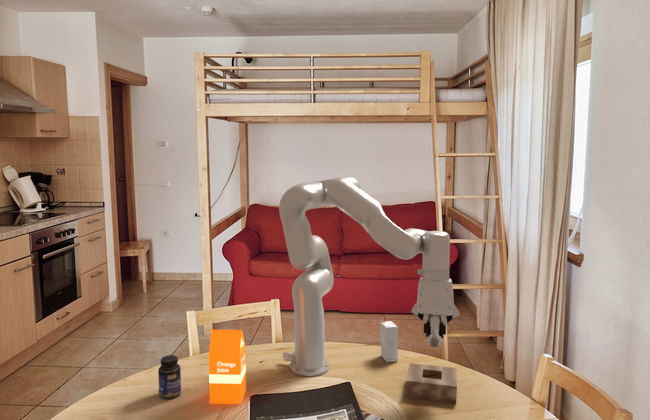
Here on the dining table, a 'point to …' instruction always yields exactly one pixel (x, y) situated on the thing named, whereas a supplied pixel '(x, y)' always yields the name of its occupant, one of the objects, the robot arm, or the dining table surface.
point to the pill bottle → (169, 377)
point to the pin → (434, 330)
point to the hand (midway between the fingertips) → (434, 335)
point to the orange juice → (227, 367)
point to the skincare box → (389, 341)
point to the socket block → (432, 383)
